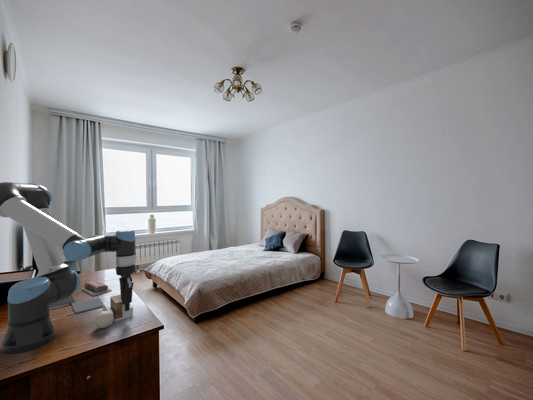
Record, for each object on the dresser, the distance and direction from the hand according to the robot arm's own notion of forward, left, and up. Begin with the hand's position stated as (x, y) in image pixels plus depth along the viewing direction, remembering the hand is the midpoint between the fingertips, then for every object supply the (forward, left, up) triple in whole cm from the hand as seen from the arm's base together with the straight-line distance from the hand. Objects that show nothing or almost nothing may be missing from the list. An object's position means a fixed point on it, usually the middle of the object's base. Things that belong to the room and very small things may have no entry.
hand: (126, 317), depth 110 cm
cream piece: (-8, +3, -3) cm, 9 cm away
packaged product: (-2, +57, -4) cm, 57 cm away
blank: (0, +12, -3) cm, 12 cm away
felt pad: (-9, +34, -3) cm, 36 cm away
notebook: (-20, +52, -4) cm, 56 cm away
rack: (0, +14, -3) cm, 14 cm away
